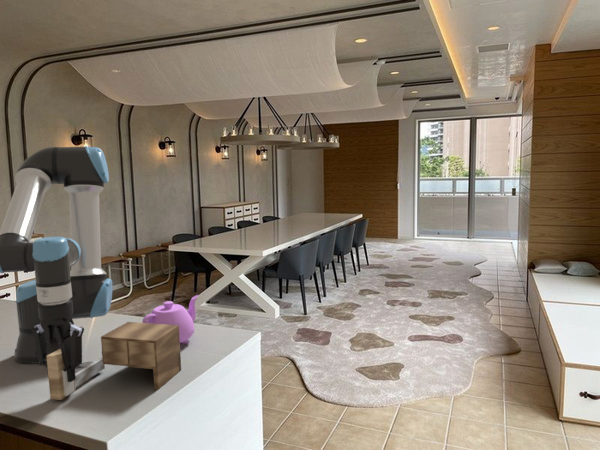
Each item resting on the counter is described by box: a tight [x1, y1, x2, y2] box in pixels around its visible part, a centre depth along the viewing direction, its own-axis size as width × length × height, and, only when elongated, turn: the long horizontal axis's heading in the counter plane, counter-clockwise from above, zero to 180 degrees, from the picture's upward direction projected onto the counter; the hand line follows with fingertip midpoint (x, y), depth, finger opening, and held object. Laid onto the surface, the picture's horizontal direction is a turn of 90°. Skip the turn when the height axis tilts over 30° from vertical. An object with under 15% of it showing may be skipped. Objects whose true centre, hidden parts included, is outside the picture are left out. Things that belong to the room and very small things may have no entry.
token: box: [75, 361, 99, 378], centre depth 130 cm, size 6×6×2 cm
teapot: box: [141, 294, 199, 345], centre depth 152 cm, size 22×16×14 cm
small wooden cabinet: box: [100, 321, 182, 391], centre depth 127 cm, size 16×12×13 cm
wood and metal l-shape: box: [47, 349, 106, 401], centre depth 122 cm, size 18×3×11 cm, turn 166°
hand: (63, 392), depth 116 cm, fingers closed on wood and metal l-shape, 3 cm apart
